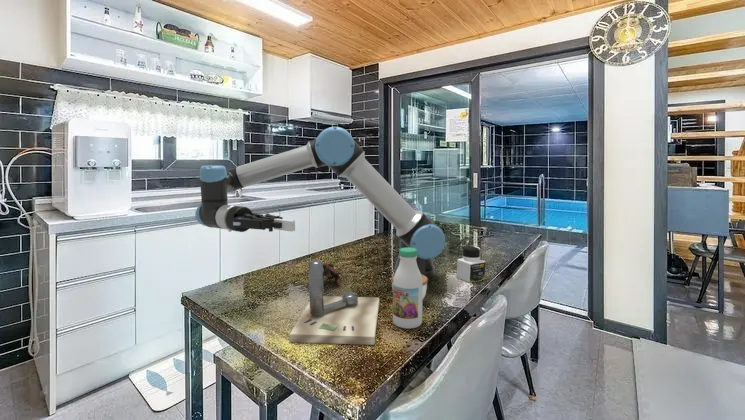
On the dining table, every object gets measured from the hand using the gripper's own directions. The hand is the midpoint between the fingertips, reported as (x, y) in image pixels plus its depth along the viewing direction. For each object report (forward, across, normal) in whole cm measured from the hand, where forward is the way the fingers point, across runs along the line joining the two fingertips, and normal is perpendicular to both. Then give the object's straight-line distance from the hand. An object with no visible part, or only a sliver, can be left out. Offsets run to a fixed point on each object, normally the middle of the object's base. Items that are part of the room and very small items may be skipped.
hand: (292, 226), depth 94 cm
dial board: (+12, -4, -25) cm, 28 cm away
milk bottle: (+28, -13, -25) cm, 40 cm away
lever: (+9, -5, -23) cm, 25 cm away
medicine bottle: (+32, -57, -25) cm, 70 cm away
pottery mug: (-9, -25, -26) cm, 37 cm away
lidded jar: (+22, -26, -25) cm, 42 cm away
